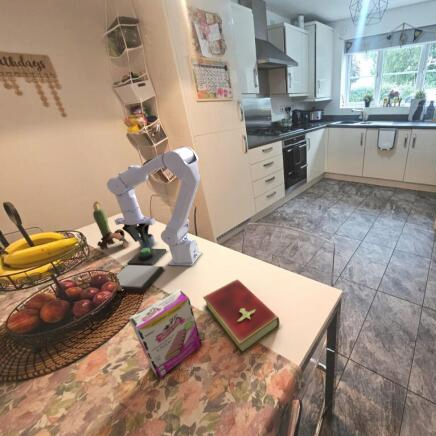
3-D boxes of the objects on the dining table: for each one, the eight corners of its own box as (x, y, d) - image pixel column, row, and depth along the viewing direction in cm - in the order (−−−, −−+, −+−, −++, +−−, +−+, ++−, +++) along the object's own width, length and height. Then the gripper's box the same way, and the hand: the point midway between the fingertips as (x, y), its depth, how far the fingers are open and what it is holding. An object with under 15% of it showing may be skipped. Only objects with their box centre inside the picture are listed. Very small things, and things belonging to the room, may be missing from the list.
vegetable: (103, 243, 109) (84, 202, 101) (111, 238, 113) (95, 198, 104) (110, 245, 108) (92, 203, 99) (119, 240, 112) (102, 199, 103)
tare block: (166, 251, 102) (164, 245, 101) (152, 266, 93) (149, 260, 92) (144, 251, 103) (142, 245, 102) (128, 265, 94) (125, 259, 93)
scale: (164, 270, 91) (162, 265, 90) (143, 293, 80) (141, 287, 79) (129, 269, 92) (127, 263, 91) (104, 291, 81) (101, 286, 80)
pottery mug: (125, 252, 103) (107, 241, 98) (109, 261, 105) (90, 250, 100) (135, 232, 112) (119, 221, 107) (120, 241, 114) (104, 230, 109)
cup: (158, 242, 109) (155, 233, 107) (150, 249, 104) (147, 240, 102) (146, 242, 110) (143, 233, 108) (137, 249, 104) (134, 240, 102)
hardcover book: (240, 287, 81) (238, 277, 79) (279, 326, 66) (279, 315, 64) (205, 306, 74) (202, 296, 72) (241, 354, 59) (239, 343, 57)
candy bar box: (159, 381, 54) (136, 330, 47) (150, 367, 57) (126, 317, 50) (203, 345, 62) (189, 296, 55) (193, 334, 65) (178, 287, 58)
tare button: (152, 250, 98) (150, 247, 97) (147, 255, 95) (146, 251, 95) (145, 250, 98) (143, 247, 98) (140, 254, 96) (139, 251, 95)
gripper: (155, 204, 91) (165, 235, 97) (119, 204, 93) (131, 234, 99) (143, 212, 85) (154, 245, 91) (105, 211, 86) (118, 244, 92)
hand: (141, 240), depth 94 cm, fingers open, 3 cm apart
